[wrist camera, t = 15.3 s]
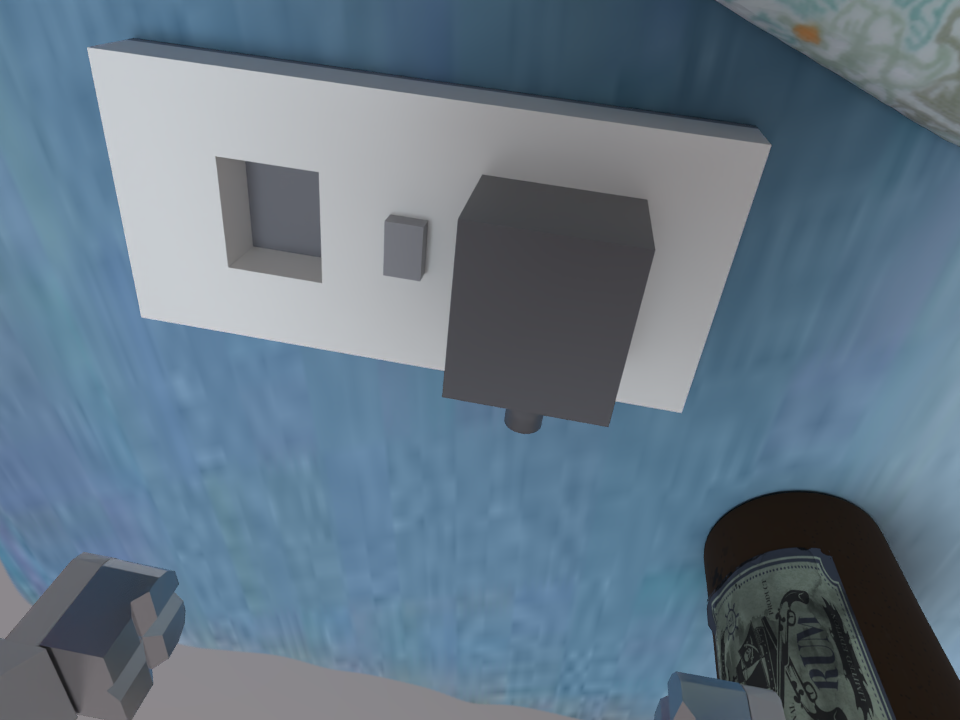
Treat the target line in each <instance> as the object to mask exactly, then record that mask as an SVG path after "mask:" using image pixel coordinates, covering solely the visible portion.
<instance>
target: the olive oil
mask: <svg viewBox="0 0 960 720" xmlns="http://www.w3.org/2000/svg"><path fill="white" fill-rule="evenodd" d="M704 565H705V574H706V582H707V591H708V599H709V600H708V599H707V601H709V602H708V605H707V617H708V626H709V627H710V629H711V630H712V632H713V642H714V652H715V662H716V672H717V679H720V680H726V681H731V682H737V683H739V684H743V685H748V686H753V687H759V688H764V689H769V690H773V691H774V692H776V693H777V695H778V696H779V698H780V699H781V702H782V706H783V711H784V715H785V719H786V720H960V680H959V678H958V676H957V675H956V673H955V671H954V669H953V667H952V665H951V663H950V662H949V660H948V658H947V656H946V654H945V652H944V651H943V649H942V647H941V645H940V643H939V641H938V639H937V638H936V636H935V634H934V632H933V630H932V628H931V626H930V625H929V623H928V621H927V619H926V617H925V615H924V613H923V612H922V610H921V608H920V606H919V604H918V602H917V600H916V598H915V596H914V594H913V592H912V590H911V588H910V586H909V584H908V582H907V581H906V579H905V577H904V575H903V573H902V571H901V569H900V567H899V565H898V563H897V561H896V559H895V557H894V555H893V553H892V551H891V549H890V547H889V545H888V543H887V541H886V540H885V538H884V536H883V534H882V532H881V530H880V529H879V527H878V526H877V524H876V523H875V522H874V521H873V519H872V518H871V517H870V516H869V515H868V514H866V513H865V512H864V511H863V510H861V509H860V508H858V507H856V506H855V505H853V504H851V503H849V502H847V501H844V500H842V499H839V498H836V497H832V496H828V495H823V494H817V493H808V492H789V493H780V494H773V495H769V496H765V497H761V498H758V499H755V500H752V501H750V502H747V503H745V504H743V505H741V506H739V507H737V508H736V509H734V510H732V511H731V512H729V513H728V514H727V515H725V516H724V517H723V518H722V519H721V520H720V521H719V522H718V523H717V524H716V525H715V526H714V528H713V529H712V531H711V532H710V534H709V536H708V538H707V541H706V544H705V549H704ZM706 603H707V602H706Z"/></svg>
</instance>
